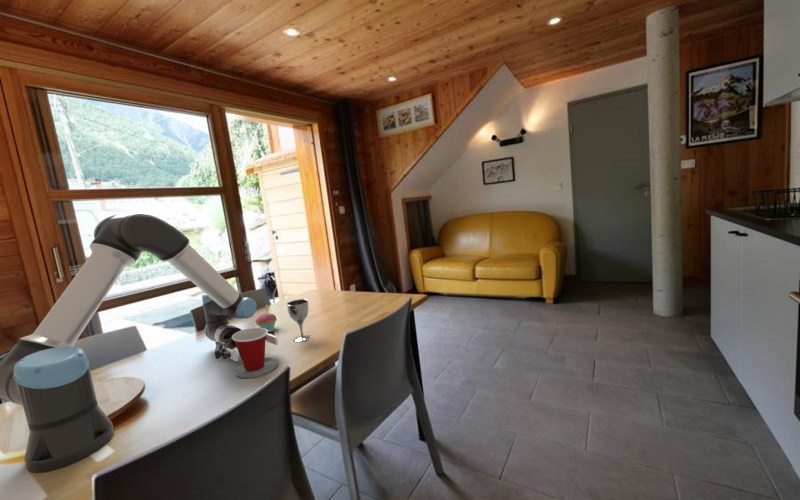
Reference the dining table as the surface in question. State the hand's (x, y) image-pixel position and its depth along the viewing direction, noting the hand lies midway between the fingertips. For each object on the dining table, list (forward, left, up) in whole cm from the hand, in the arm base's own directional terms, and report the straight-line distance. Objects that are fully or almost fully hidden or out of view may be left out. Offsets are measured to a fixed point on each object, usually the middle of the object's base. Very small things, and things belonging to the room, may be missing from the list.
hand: (257, 348), depth 112 cm
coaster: (0, +1, -7) cm, 7 cm away
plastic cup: (-1, +1, -7) cm, 7 cm away
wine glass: (+23, +10, -7) cm, 26 cm away
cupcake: (+21, +34, -7) cm, 41 cm away
